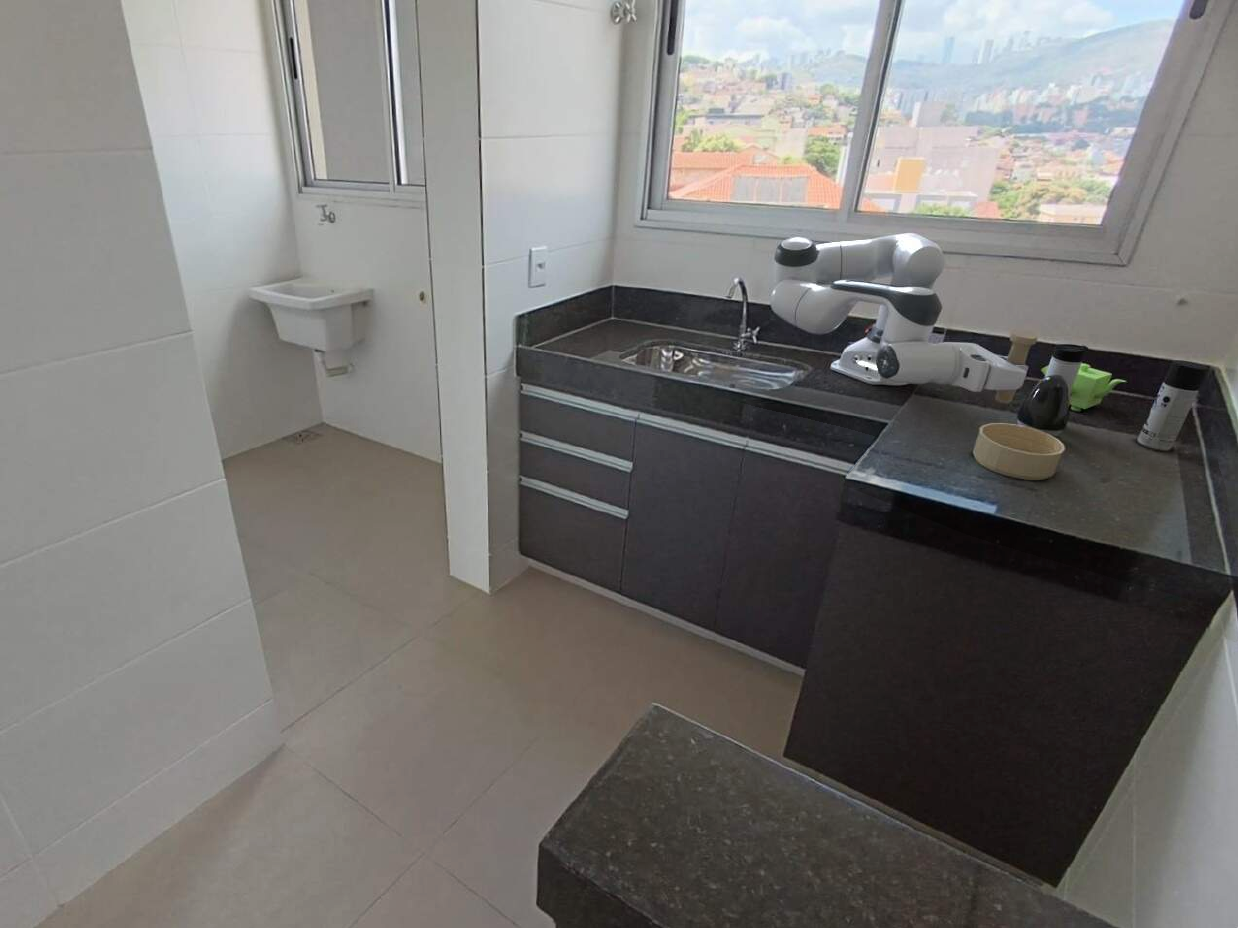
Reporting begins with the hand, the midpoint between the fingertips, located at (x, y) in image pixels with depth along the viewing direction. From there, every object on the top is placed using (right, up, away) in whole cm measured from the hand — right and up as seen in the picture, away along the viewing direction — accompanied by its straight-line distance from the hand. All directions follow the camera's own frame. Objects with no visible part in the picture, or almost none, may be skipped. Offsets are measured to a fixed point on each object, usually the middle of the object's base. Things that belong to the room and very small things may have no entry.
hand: (1018, 365), depth 144 cm
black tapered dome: (+14, -14, +18) cm, 27 cm away
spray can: (+41, -17, +16) cm, 47 cm away
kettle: (+36, -5, +38) cm, 53 cm away
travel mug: (+21, -11, +25) cm, 35 cm away
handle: (-1, -8, +4) cm, 9 cm away
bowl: (+1, -21, +3) cm, 21 cm away
